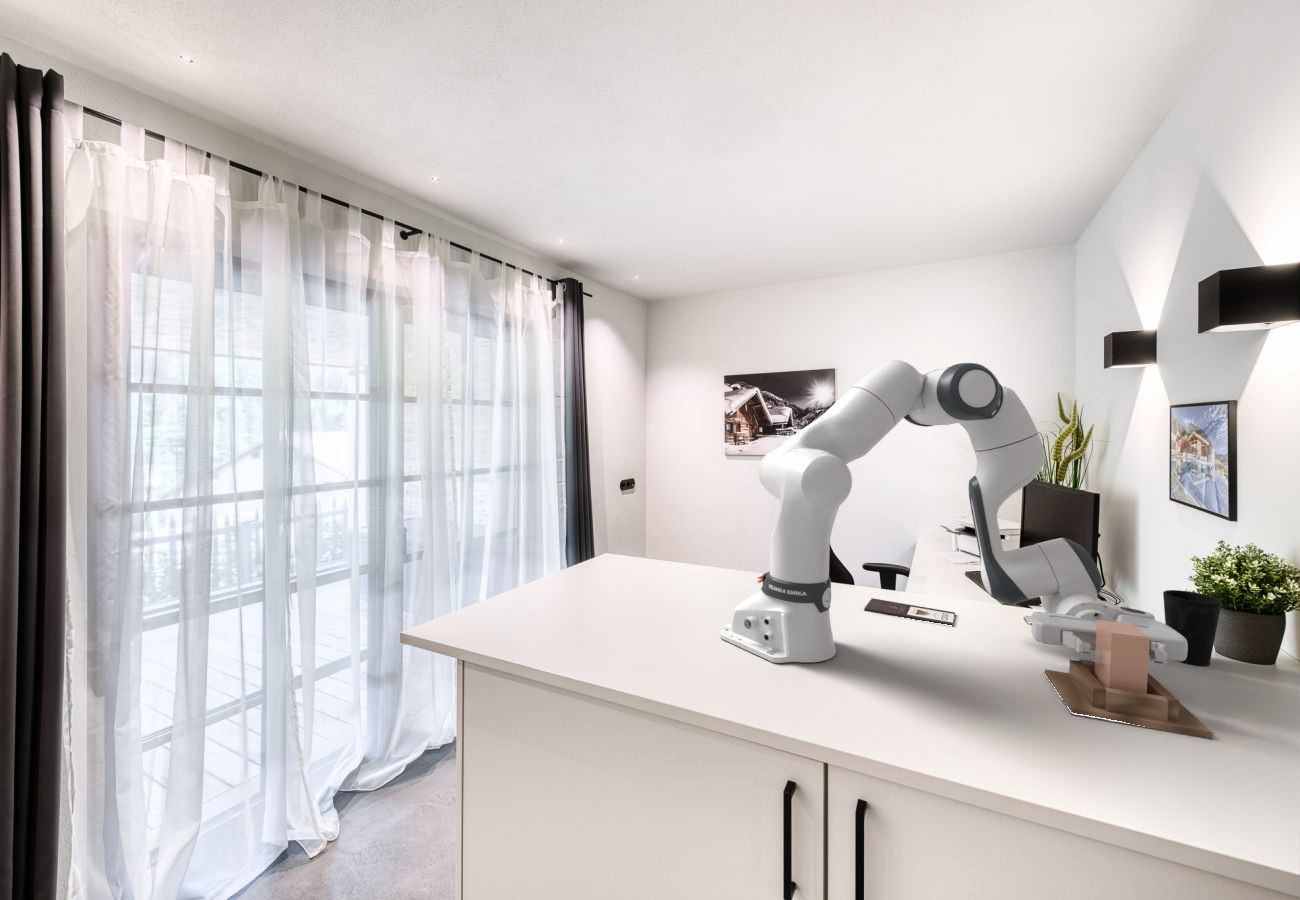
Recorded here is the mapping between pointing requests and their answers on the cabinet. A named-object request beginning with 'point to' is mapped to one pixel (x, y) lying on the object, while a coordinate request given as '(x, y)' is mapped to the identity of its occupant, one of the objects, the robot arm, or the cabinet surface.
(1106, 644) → the peach rectangular block
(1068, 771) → the cabinet surface
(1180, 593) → the cup
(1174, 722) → the wooden tray with base
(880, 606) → the chocolate bar
